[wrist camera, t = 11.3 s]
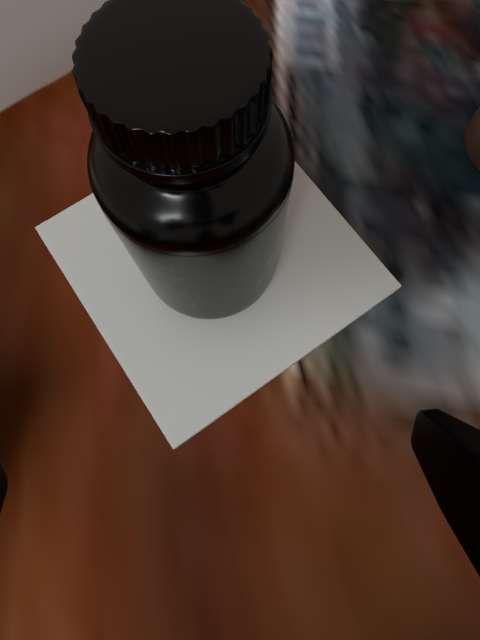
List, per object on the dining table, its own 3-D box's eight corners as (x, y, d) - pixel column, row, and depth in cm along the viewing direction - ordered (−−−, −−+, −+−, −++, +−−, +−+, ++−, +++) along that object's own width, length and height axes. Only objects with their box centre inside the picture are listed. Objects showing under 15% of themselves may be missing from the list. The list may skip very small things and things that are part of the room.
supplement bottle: (297, 293, 20) (368, 119, 9) (172, 342, 20) (69, 227, 8) (246, 184, 22) (249, -85, 10) (129, 227, 21) (-7, -7, 10)
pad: (394, 292, 21) (401, 286, 20) (176, 447, 19) (173, 449, 18) (245, 115, 24) (245, 103, 23) (44, 236, 22) (34, 227, 21)
